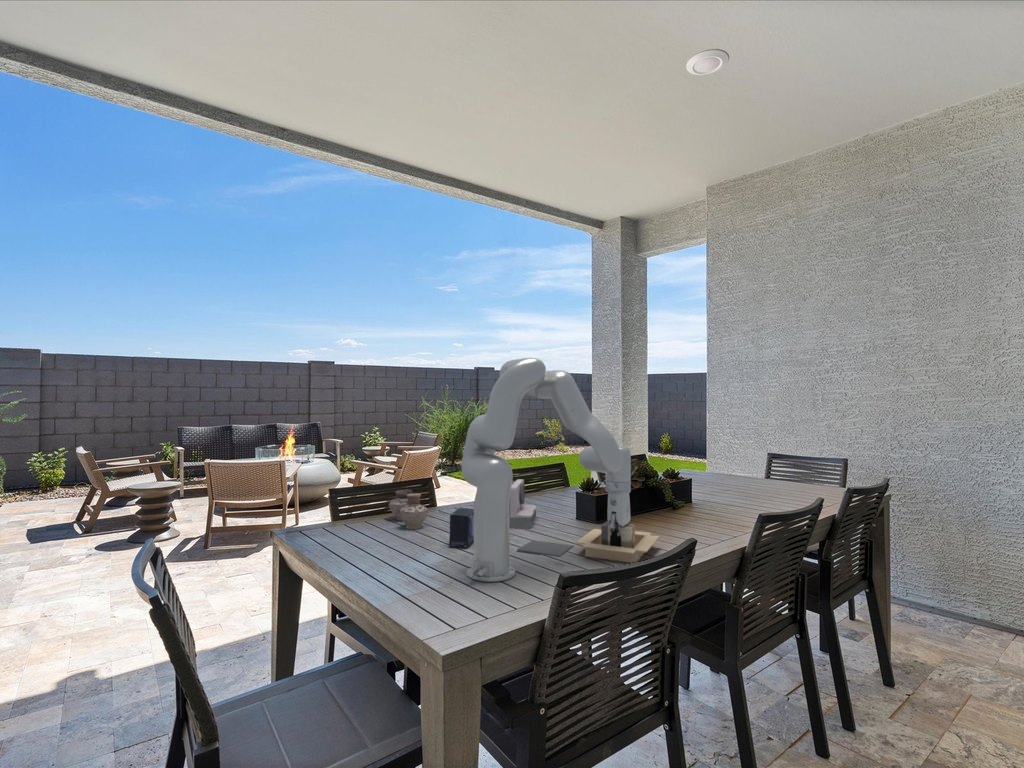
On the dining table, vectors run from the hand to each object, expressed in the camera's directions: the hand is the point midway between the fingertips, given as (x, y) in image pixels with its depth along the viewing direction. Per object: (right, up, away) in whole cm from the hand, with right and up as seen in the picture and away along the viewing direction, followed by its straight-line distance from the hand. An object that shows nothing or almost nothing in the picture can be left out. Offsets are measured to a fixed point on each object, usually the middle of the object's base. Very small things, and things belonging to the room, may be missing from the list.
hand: (618, 545), depth 163 cm
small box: (-48, -2, +9) cm, 49 cm away
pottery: (-71, -3, +37) cm, 80 cm away
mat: (-22, -2, +3) cm, 22 cm away
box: (0, -2, 0) cm, 2 cm away
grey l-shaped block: (-33, -3, +39) cm, 51 cm away
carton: (0, -2, 0) cm, 2 cm away
